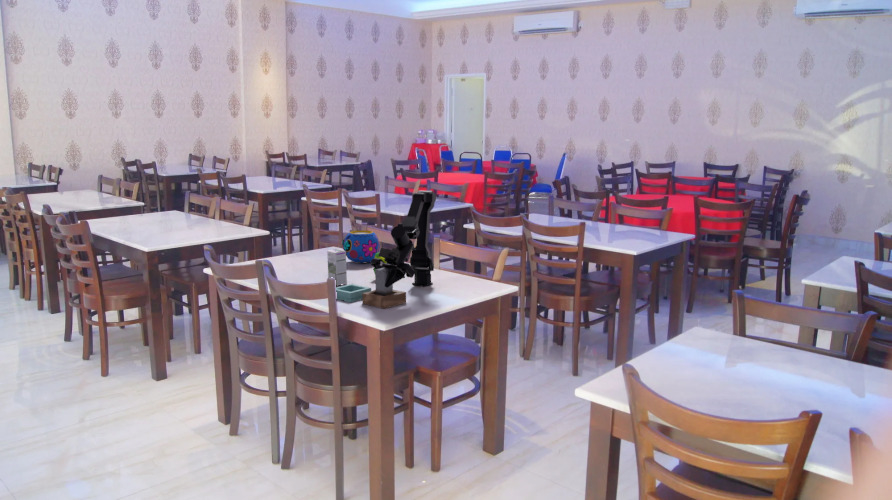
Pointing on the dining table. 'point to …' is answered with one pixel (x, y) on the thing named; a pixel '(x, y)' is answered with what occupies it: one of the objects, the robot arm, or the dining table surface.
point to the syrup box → (337, 266)
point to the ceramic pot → (361, 245)
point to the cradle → (351, 292)
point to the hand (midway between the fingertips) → (381, 285)
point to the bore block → (384, 299)
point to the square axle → (383, 281)
